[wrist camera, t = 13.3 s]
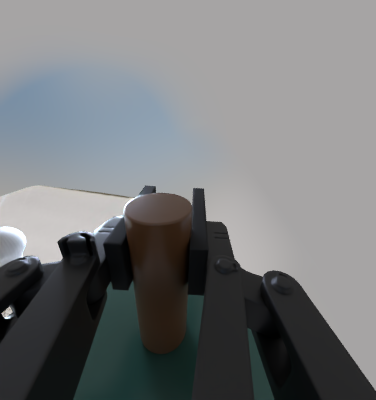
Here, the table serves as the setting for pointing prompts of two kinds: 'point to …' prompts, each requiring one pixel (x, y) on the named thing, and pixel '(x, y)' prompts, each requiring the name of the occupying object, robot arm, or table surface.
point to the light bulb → (11, 244)
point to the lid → (153, 314)
